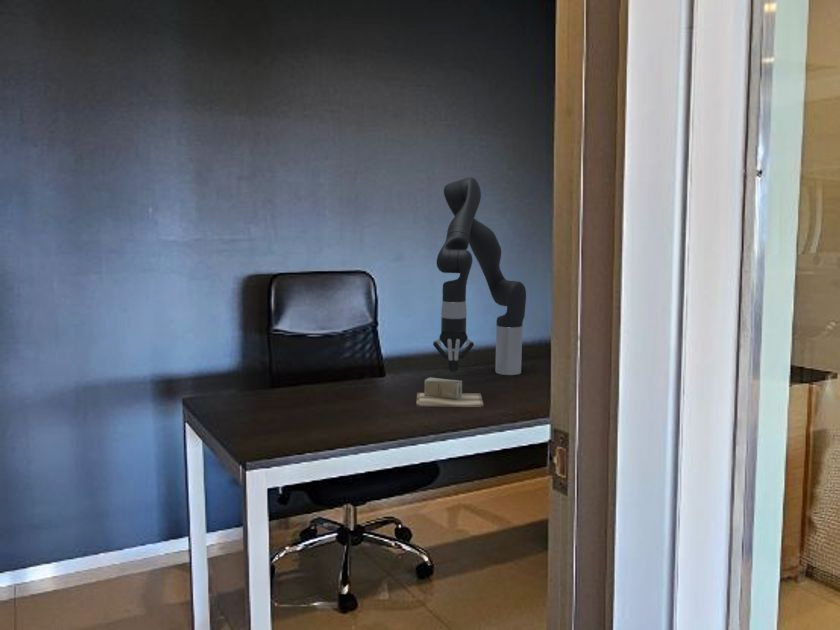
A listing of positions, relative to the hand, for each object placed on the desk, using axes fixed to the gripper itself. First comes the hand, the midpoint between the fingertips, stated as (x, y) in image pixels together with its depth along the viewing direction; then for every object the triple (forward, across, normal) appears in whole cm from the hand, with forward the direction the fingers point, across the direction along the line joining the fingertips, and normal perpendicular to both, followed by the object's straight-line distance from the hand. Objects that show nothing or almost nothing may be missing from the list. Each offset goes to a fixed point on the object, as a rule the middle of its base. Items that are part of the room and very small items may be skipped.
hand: (453, 371), depth 225 cm
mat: (+9, -1, 0) cm, 9 cm away
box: (+6, +2, +1) cm, 6 cm away
